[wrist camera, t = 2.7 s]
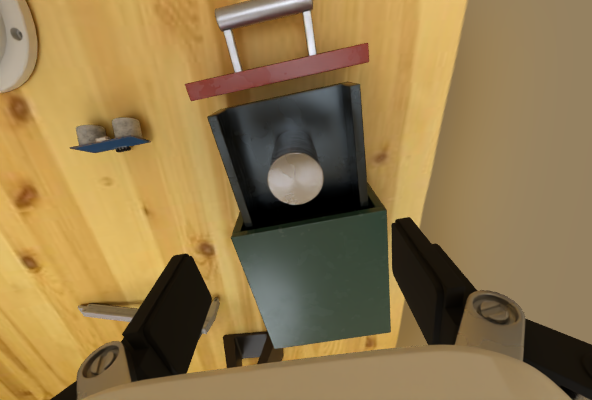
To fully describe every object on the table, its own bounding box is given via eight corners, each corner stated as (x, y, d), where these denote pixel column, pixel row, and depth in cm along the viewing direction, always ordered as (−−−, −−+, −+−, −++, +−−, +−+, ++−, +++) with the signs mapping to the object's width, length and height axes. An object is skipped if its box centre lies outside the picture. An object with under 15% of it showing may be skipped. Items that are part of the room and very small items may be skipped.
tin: (269, 134, 24) (261, 159, 17) (310, 125, 23) (319, 147, 17) (278, 172, 25) (274, 209, 19) (317, 165, 25) (327, 199, 19)
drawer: (185, 24, 21) (158, 12, 16) (347, -15, 20) (363, -39, 15) (253, 230, 30) (248, 257, 26) (365, 210, 29) (378, 234, 25)
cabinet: (242, 204, 29) (230, 237, 23) (366, 180, 28) (386, 209, 22) (276, 305, 37) (274, 349, 31) (374, 290, 36) (390, 332, 30)
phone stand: (279, 330, 40) (275, 425, 29) (283, 353, 43) (281, 446, 32) (223, 335, 40) (199, 430, 30) (231, 357, 43) (212, 451, 32)
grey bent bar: (219, 294, 36) (206, 335, 30) (221, 300, 37) (208, 341, 31) (79, 303, 36) (41, 346, 31) (83, 308, 37) (46, 351, 31)
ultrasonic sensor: (151, 124, 26) (127, 114, 22) (155, 146, 26) (132, 140, 22) (97, 135, 26) (65, 127, 23) (102, 157, 26) (70, 152, 23)
